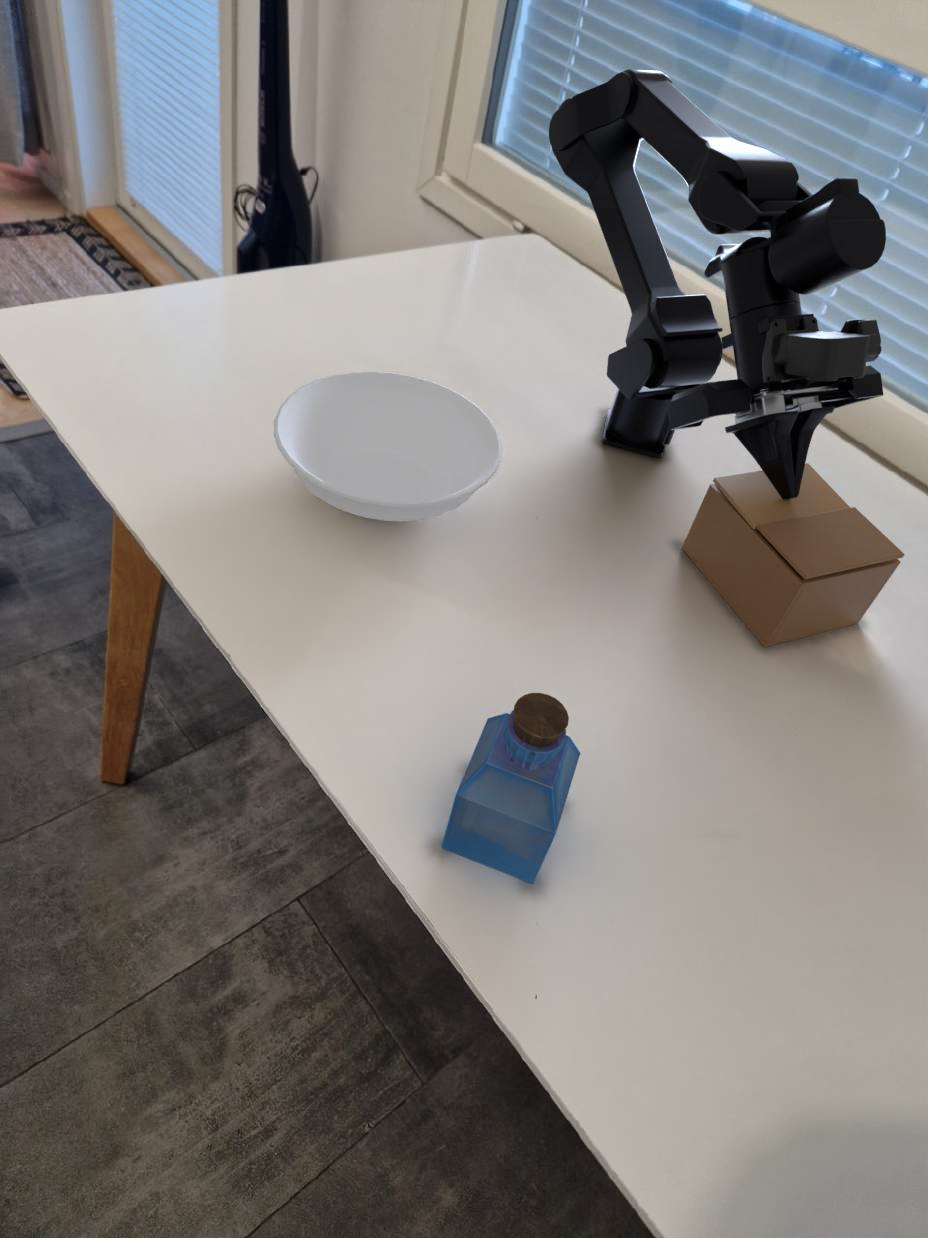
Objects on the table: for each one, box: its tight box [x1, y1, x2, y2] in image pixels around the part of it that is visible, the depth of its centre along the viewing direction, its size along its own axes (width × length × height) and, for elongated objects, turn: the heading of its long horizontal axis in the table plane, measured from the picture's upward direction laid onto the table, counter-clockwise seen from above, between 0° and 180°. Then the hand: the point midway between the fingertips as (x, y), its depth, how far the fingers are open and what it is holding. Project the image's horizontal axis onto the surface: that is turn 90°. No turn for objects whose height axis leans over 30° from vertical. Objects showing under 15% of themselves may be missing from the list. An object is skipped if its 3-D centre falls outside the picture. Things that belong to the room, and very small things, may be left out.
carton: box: [681, 483, 905, 648], centre depth 76 cm, size 13×11×8 cm
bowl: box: [273, 370, 503, 522], centre depth 77 cm, size 20×20×6 cm
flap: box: [712, 462, 851, 530], centre depth 75 cm, size 6×11×1 cm, turn 114°
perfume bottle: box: [440, 692, 581, 885], centre depth 53 cm, size 6×6×12 cm
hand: (790, 498), depth 74 cm, fingers closed, pressing on flap
